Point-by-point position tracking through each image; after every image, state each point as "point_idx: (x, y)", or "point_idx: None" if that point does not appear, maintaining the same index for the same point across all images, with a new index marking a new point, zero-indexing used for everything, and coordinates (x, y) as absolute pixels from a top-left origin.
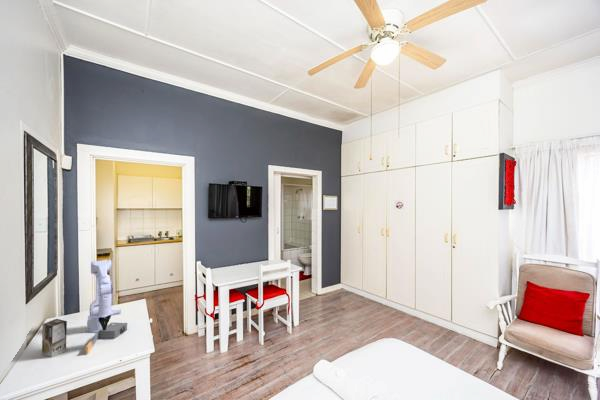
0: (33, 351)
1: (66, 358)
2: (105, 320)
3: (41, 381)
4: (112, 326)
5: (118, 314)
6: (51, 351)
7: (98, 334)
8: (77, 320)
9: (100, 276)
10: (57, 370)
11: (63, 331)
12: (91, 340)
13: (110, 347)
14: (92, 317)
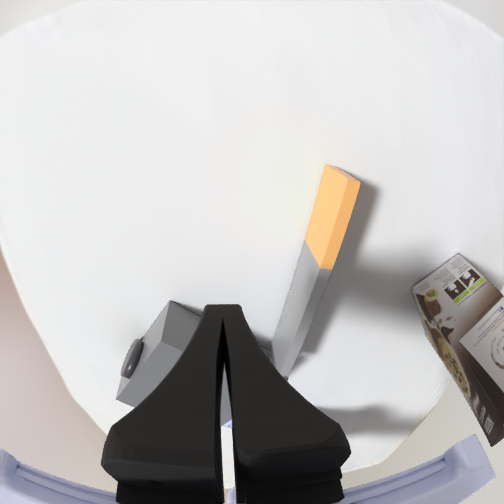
0: None
1: (421, 195)
2: (199, 428)
3: (480, 35)
4: None
5: (6, 454)
6: (477, 271)
7: None
8: None
9: None
10: (449, 80)
11: (491, 365)
12: (320, 282)
13: (176, 181)
14: (452, 490)
